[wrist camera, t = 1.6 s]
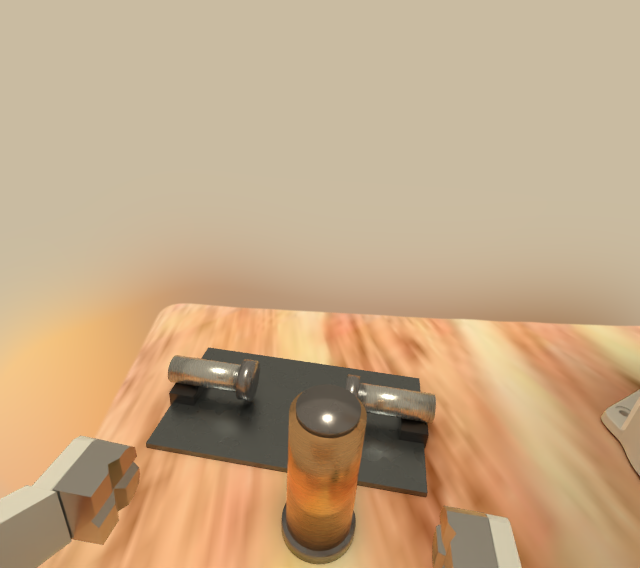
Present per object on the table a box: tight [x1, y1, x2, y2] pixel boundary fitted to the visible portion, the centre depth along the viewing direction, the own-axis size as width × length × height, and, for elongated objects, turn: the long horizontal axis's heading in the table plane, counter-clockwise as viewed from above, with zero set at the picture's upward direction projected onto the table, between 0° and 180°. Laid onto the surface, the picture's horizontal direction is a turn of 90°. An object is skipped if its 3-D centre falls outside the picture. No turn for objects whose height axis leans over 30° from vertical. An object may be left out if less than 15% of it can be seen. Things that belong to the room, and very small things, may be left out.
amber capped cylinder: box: [282, 384, 367, 564], centre depth 29 cm, size 5×5×12 cm
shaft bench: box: [146, 348, 436, 497], centre depth 41 cm, size 25×14×5 cm, turn 81°
